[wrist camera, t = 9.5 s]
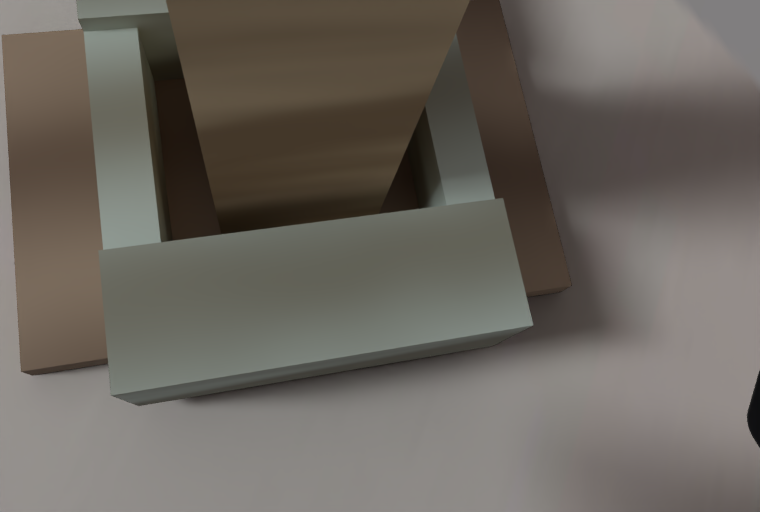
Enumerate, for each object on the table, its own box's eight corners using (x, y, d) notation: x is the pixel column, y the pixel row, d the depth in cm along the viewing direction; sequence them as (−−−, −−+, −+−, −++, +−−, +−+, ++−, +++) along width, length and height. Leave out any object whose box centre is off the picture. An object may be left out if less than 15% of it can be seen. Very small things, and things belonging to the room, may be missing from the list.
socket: (571, 335, 20) (638, 308, 16) (34, 426, 17) (-30, 418, 13) (482, -21, 22) (522, -113, 19) (10, 12, 20) (-49, -87, 16)
